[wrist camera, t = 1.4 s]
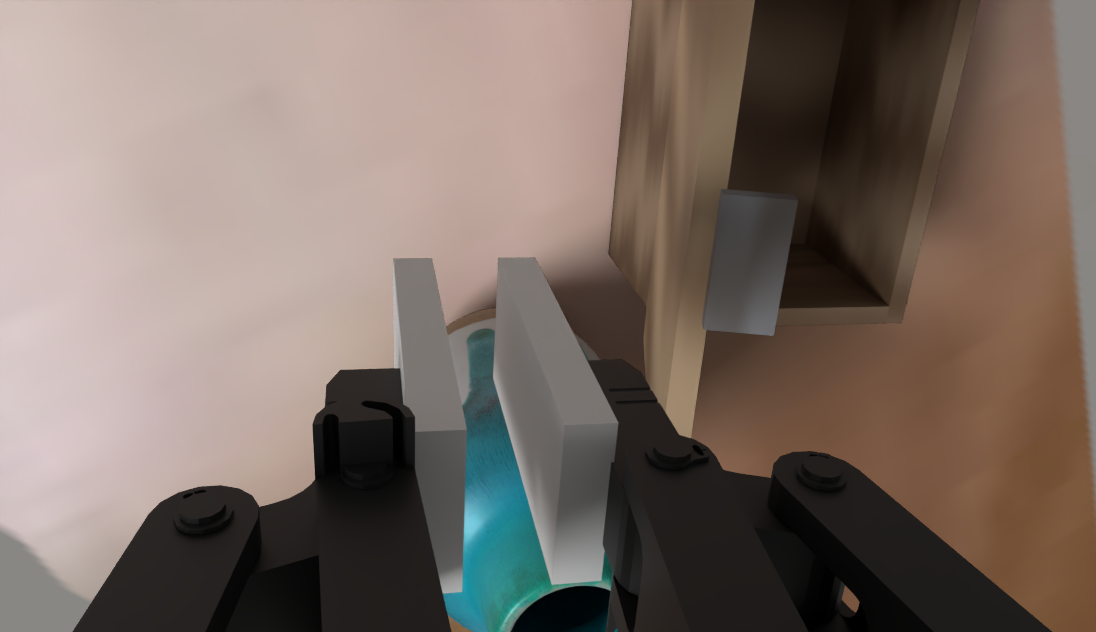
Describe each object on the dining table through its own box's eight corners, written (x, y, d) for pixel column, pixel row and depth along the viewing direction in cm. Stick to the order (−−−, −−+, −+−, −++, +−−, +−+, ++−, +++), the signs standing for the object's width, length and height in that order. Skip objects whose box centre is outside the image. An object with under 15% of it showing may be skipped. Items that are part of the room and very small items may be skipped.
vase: (634, 362, 48) (786, 612, 31) (496, 491, 50) (567, 797, 32) (494, 235, 44) (581, 445, 26) (348, 382, 45) (340, 669, 28)
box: (638, -69, 39) (711, -64, 31) (867, -54, 41) (990, -46, 33) (608, 254, 45) (662, 328, 37) (809, 253, 47) (901, 323, 39)
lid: (761, -74, 31) (691, -79, 31) (848, -77, 19) (734, -84, 19) (701, 342, 37) (643, 337, 37) (738, 530, 25) (654, 522, 25)
